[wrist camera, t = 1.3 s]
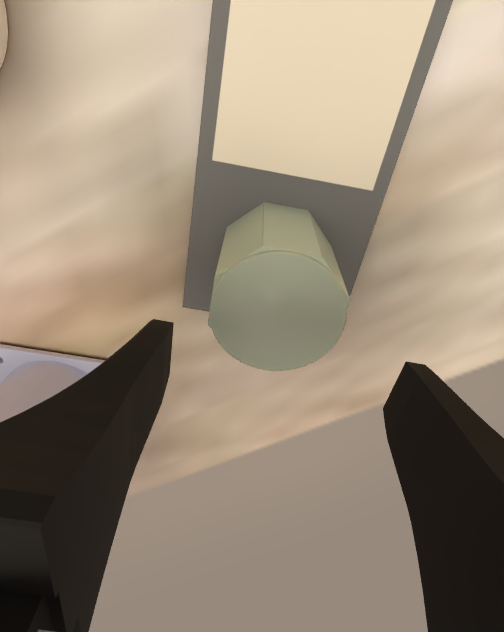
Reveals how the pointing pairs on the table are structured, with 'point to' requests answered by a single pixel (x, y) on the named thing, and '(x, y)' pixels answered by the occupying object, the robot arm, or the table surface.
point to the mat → (305, 118)
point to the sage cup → (277, 290)
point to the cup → (3, 31)
